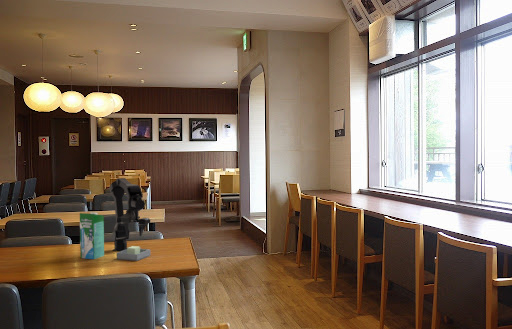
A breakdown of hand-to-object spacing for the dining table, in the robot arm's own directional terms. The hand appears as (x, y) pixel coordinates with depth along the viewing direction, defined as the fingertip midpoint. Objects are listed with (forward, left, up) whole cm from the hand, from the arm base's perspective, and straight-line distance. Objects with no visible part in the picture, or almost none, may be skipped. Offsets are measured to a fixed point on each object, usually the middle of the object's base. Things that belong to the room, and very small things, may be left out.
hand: (133, 235), depth 258 cm
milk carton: (-21, -8, -12) cm, 26 cm away
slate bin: (+1, -2, -12) cm, 12 cm away
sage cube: (+1, -2, -11) cm, 11 cm away
